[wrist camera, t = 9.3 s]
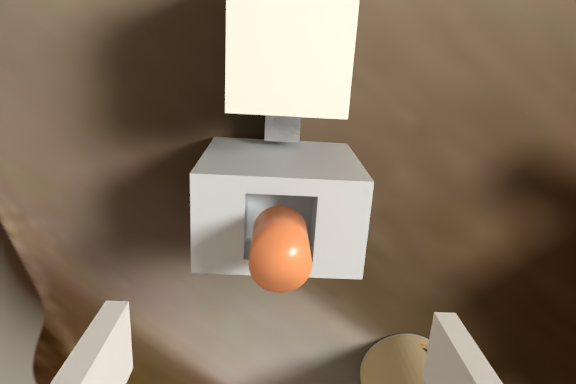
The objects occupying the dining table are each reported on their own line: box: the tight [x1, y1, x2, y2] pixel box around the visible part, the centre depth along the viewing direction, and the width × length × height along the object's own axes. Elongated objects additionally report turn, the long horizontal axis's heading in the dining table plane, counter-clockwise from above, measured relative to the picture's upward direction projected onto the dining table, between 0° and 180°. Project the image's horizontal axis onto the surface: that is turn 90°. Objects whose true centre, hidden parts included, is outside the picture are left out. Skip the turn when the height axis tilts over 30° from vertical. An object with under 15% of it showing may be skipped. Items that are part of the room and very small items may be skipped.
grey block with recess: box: [190, 137, 374, 279], centre depth 30 cm, size 6×10×10 cm, turn 87°
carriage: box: [225, 0, 359, 119], centre depth 26 cm, size 8×6×11 cm
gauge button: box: [249, 206, 312, 293], centre depth 23 cm, size 3×3×4 cm
